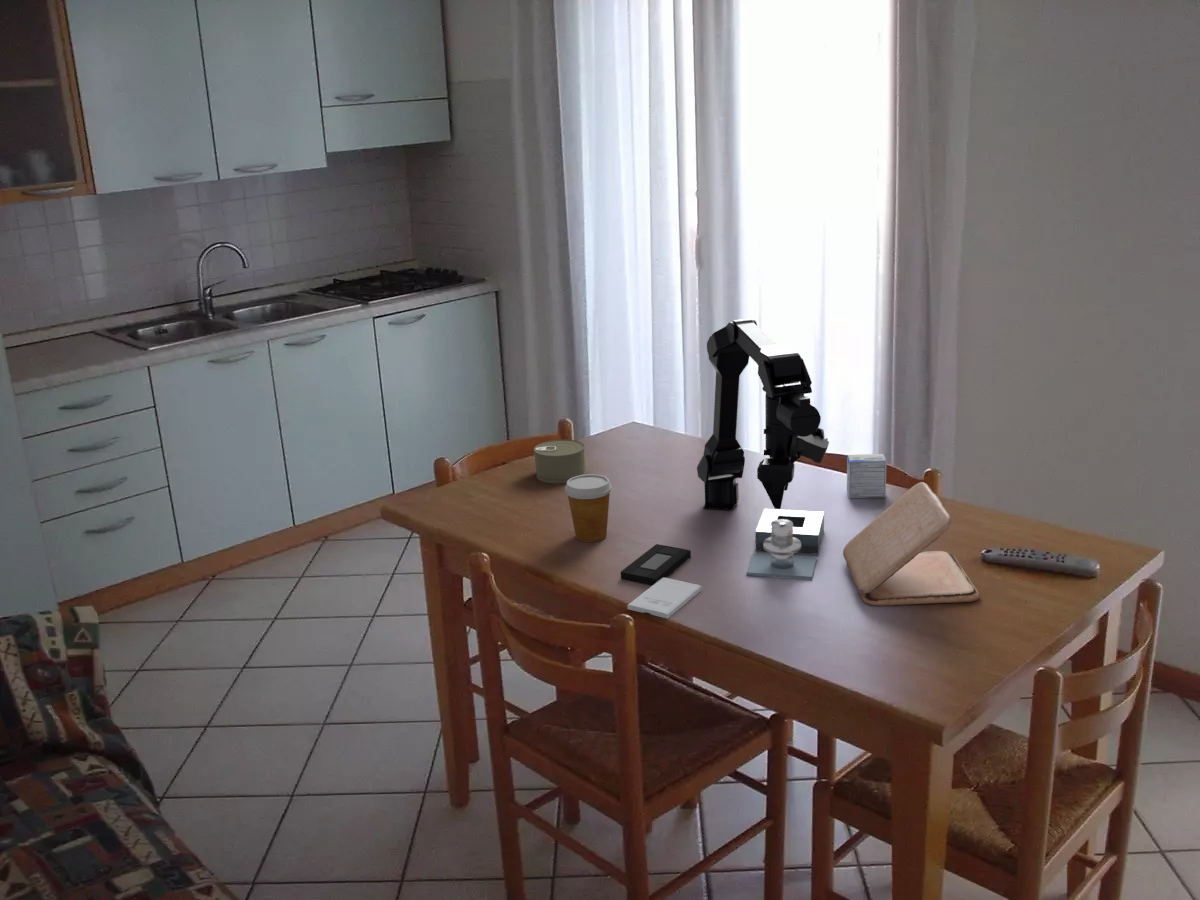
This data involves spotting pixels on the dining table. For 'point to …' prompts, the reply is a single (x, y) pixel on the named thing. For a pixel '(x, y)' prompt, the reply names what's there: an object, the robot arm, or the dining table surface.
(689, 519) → the dining table surface
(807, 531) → the frame
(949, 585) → the case
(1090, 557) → the dining table surface
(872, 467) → the medicine box
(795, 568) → the mat
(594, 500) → the disposable coffee cup
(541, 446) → the can
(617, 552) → the dining table surface
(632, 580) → the vhs tape
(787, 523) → the silver door knob
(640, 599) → the external hard drive
